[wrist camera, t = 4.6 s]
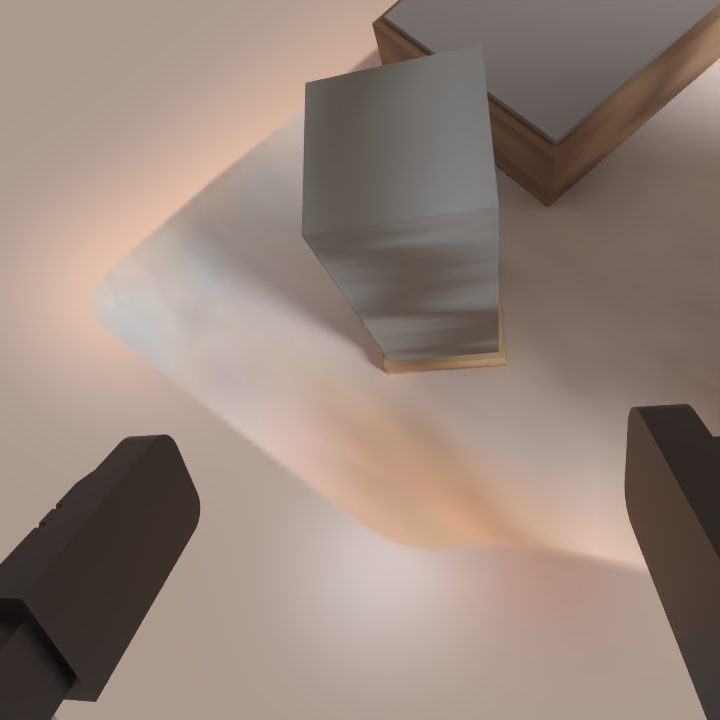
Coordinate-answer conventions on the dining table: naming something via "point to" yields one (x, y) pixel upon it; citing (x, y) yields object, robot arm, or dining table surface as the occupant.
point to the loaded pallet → (409, 207)
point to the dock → (562, 71)
